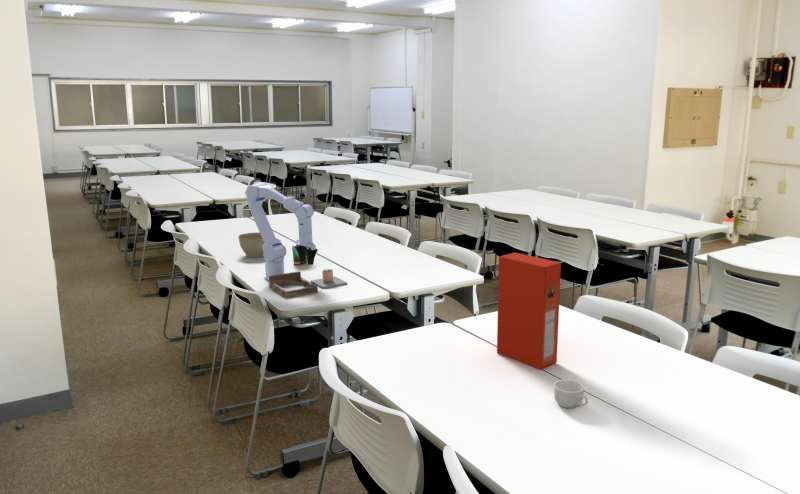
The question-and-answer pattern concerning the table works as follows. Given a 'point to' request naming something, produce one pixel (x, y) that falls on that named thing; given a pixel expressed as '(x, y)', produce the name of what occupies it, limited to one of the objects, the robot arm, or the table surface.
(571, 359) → the table surface
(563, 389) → the teacup
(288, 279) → the frame
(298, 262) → the food container
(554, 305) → the file binder
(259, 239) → the planter bowl
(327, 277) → the clay pot
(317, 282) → the potting mat
